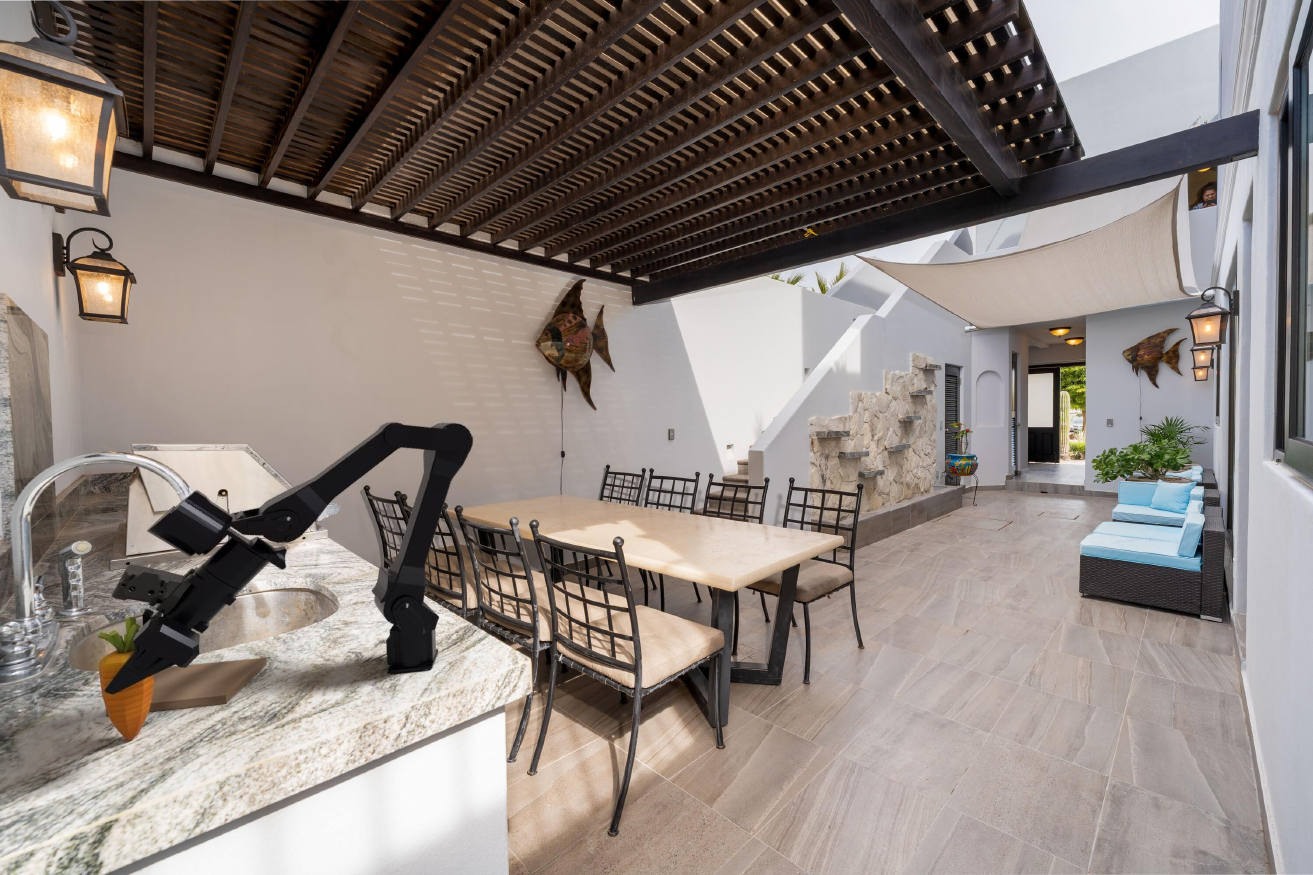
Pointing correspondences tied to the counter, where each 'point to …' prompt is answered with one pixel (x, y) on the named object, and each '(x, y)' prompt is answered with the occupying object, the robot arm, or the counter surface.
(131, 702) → the carrot
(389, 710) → the counter surface
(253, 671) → the walnut board
